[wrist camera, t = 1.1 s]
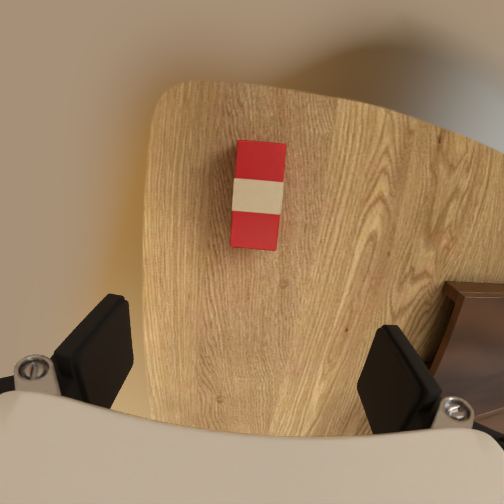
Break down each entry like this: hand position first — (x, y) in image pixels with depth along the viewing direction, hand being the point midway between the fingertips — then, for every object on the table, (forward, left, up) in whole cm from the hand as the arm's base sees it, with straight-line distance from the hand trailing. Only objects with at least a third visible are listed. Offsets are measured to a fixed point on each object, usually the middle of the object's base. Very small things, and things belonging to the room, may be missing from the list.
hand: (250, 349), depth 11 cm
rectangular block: (-4, 0, -16) cm, 17 cm away
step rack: (+13, +29, -16) cm, 36 cm away
